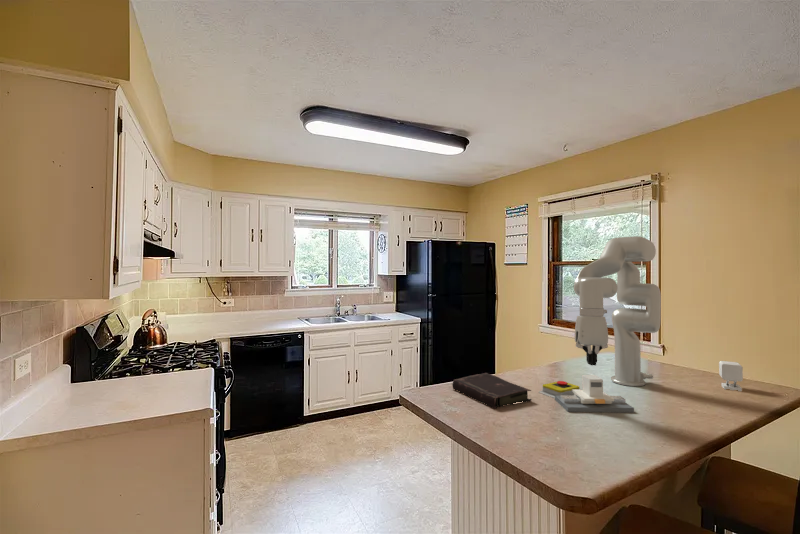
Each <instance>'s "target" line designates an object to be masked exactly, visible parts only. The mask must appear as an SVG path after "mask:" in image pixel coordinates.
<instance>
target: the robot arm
mask: <svg viewBox="0 0 800 534" xmlns="http://www.w3.org/2000/svg"><path fill="white" fill-rule="evenodd" d="M656 250H657V249H656V246H655V243H654V242H652V241H651V240H650V239H648V238H645V237H643V236H637V235H636V236H634V235H633V236H619V237H614V238H610V239H609V240H608V241H607V242H606V243H605V245H604V248H603V250H602V252H601V254H600V256H599V258H598V259H596V260H594V261H592V262H590V263H588V264H587V265H585V266H584V267H582V268H581V269H580V271H578V274H577V276H576V278H575V280H574V284H573V291H574V293H575V294H576V295H577V296H578V297H579V315H577V316H576V320H575V328H574V342H575V348H577V349H581V350H583V351H584V352H585V353H586V355H585V356H586V362H587V364H588V365H590V366H597V363H598V354H599V353H600V351H601V350H604V349H607V348H609V346H608V343H609V330H608V325H607V319H606V317H605V314H608V309H605V308H604V299H610V298H612V297H614V296H615V295H616V300H617V303H619V304H620V305H625V306H637V307H639V306H640V307H646V308H628V307H622V308H621V307H620V308H617V309H615V310H613V311H612V313H611V322H612V327H613V335H614V336H613V337H614V375H613V376H611V377H610V381H611V382H613V383H615V384H619V385H623V386H626V387H627V386H628V387H629V386H630V387H642V386H645V385H646V381H645V380H646V379H649V380H650V379H653V378H654V375H653V374H652V373H645V372H642V367H641V366H642V365H641V363H642V361H641V360H642V359H641V353H642V352H641V340H640V338H639V337H638V335H637V334H636V332H638V333H649V334H653V333H654V334H655V333H657V332H659V330H660V329H661V318H662V315H661V314H662V313H661V312H662V294H661V290H660V288H659V287H660V286H658V285H657V284H654V283H644V282H643V283H641V271H640V269H639V268H638V267H637V265H636V264H634V263H633V262H640V263H642V262H650V261H653V260H654V259H655V257H656V254H657V253H656V252H657V251H656ZM614 274H617V282H616V280H614V279H613V278H611V277H608V276H610V275H614Z"/></svg>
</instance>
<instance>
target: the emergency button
mask: <svg viewBox="0 0 800 534" xmlns="http://www.w3.org/2000/svg"><path fill="white" fill-rule="evenodd" d="M572 389H578V390H581V389H580V386H579V385H576V384H573V383H570V382H567V381H563V380H558V381H552V382H549V383H545V384H542V389H541V390H540V391H538V393H539V394H541V393H542V395H544V396H546V397H549V396H550V398H552V399H555V396H561V395H571V396H574V393H573V392H572Z"/></svg>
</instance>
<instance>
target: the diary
mask: <svg viewBox="0 0 800 534" xmlns="http://www.w3.org/2000/svg"><path fill="white" fill-rule="evenodd" d="M454 389H455V390H454ZM452 390H454V391H456V390H458V391H460V392H462V393H464V394H466V395H465V396H467V395H468V396H467V397H469V396H470V397H469V398H471V397H472V398H471V399H473V398H474V399H473V400H475V399H476V400H475V401H477V400H478V401H477V402H479V401H480V402H479V403H481V402H483V403H482V404H484V403H485V404H484V405H486V404H487V405H486V406H488V407H490V408H492V409H494V410H497V408H499V407H500V406H502V407H504V406H503V405H506V406H508V405H507V404H510V405H511V404H513V403H516V402H522V401H523V402H525V403H529V402H531V401H532V398H528V397H529V396H528V392H531V391H532V389H530V388H526V387H523V386H521V385H518V384H515V383H512V382H510V381H507V380H505V379H502V378H501V377H499V376H497V375H493V374H490V373H488V372H484V373H479V374H478V373H477V374H473V375H468V376H463V377H459V378H456V379H455V378H454V379H453V381H452ZM458 391H457V392H458ZM460 392H459V393H460ZM462 393H461V394H462ZM464 394H463V395H464ZM528 401H529V402H528ZM498 405H499V406H498ZM496 406H497V407H496Z"/></svg>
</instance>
